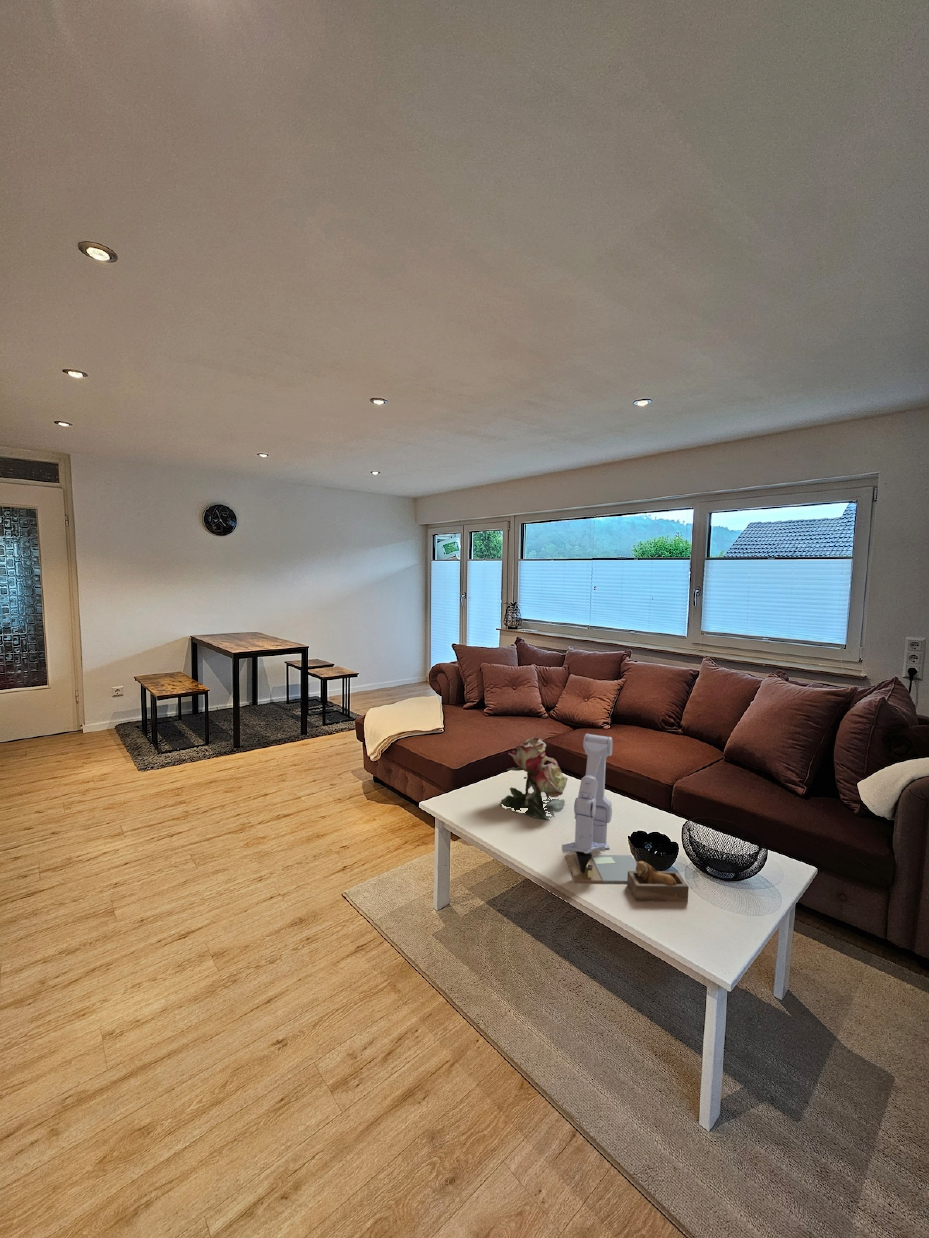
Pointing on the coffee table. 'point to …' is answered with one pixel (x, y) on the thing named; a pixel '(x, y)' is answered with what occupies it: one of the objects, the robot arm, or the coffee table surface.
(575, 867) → the door board
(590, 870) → the latch bar
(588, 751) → the robot arm
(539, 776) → the rose bouquet
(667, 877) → the lion figurine
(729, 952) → the coffee table surface
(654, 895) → the display tray
